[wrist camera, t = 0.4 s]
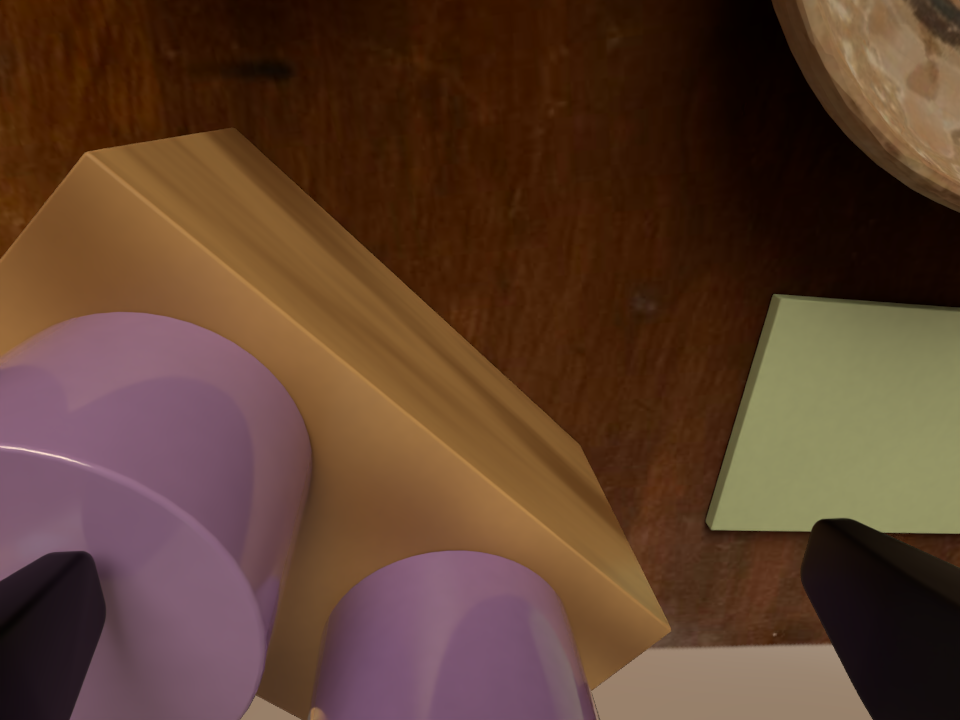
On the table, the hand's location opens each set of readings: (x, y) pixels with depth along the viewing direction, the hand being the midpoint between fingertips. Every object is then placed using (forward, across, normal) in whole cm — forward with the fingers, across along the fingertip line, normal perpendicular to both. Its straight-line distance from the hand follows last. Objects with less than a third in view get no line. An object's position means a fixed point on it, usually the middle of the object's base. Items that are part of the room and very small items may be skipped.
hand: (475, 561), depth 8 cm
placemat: (+14, -19, +6) cm, 24 cm away
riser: (+14, +3, +4) cm, 15 cm away
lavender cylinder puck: (+5, +6, +1) cm, 8 cm away
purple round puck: (+5, 0, +7) cm, 8 cm away
